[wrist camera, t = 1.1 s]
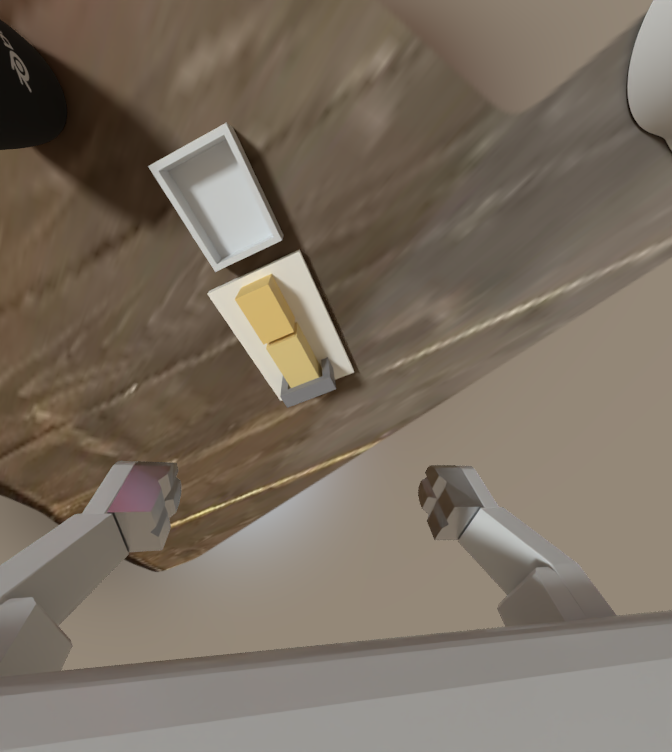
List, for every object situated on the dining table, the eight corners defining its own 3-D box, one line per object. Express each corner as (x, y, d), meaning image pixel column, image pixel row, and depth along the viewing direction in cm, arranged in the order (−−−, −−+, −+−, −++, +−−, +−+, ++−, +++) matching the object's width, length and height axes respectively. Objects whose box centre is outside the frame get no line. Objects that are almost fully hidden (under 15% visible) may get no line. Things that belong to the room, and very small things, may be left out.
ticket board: (299, 249, 34) (298, 262, 29) (353, 368, 44) (359, 393, 39) (209, 290, 36) (194, 310, 31) (280, 395, 46) (277, 423, 41)
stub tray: (233, 127, 28) (225, 122, 25) (283, 235, 33) (281, 240, 31) (161, 166, 29) (147, 166, 26) (221, 264, 34) (215, 271, 32)
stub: (271, 273, 34) (268, 284, 31) (295, 317, 37) (294, 331, 34) (241, 287, 35) (234, 299, 31) (267, 329, 38) (263, 344, 35)
